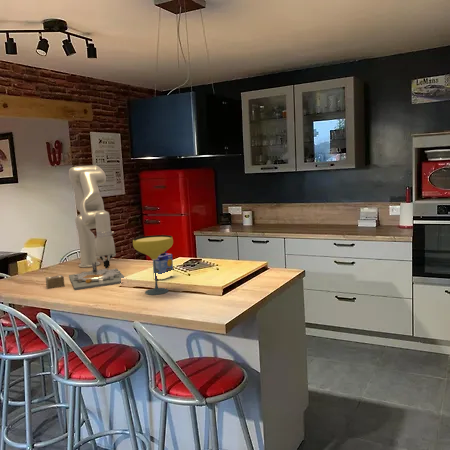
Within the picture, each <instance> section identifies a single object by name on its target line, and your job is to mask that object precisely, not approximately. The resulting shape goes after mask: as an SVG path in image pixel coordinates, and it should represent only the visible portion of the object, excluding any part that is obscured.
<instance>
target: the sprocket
mask: <svg viewBox="0 0 450 450" xmlns="http://www.w3.org/2000/svg"><path fill="white" fill-rule="evenodd" d="M92 266H93V267H92V270H89V271H81V274H80V273H75V274H76V275H74V276H75V277H73V280H74V281H75V280H77V282H86V283H90V282H94V281H98V282H99V279H103V280H107V279H109V280H111V279H114V277H119V276H120V272H121V271H120V270H119V271H116V269H117V268H112V269H113V270H110V269H108V268H103V269H98V268H97V267H98V266H96V262H92Z"/></svg>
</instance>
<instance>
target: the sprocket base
mask: <svg viewBox="0 0 450 450" xmlns="http://www.w3.org/2000/svg"><path fill="white" fill-rule="evenodd" d="M113 269H114V268H112V269H111V268H110V269H109V270H113ZM115 269H116V271H120V269H118V268H115ZM76 274H77V273H74V274H68V278H69V281H70V284H72V288H73V290H74V291H79V290H86V289H87V290H88V289H92V288H93V289H94V288H101V287H107V286H113V285H114V286H115V285H121V284H122V283H121V278H124V277H126V276H125V275H124V274H123V273H122V272H121V271H120V276H119V277H114V279H111V280H109V279H107V280H103V279H99V282H98V281H94V282H90V283H86V282H77V280H75V281H74V280H73V277H75V276H74V275H76ZM79 274H81V273H79ZM120 283H121V284H120Z"/></svg>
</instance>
